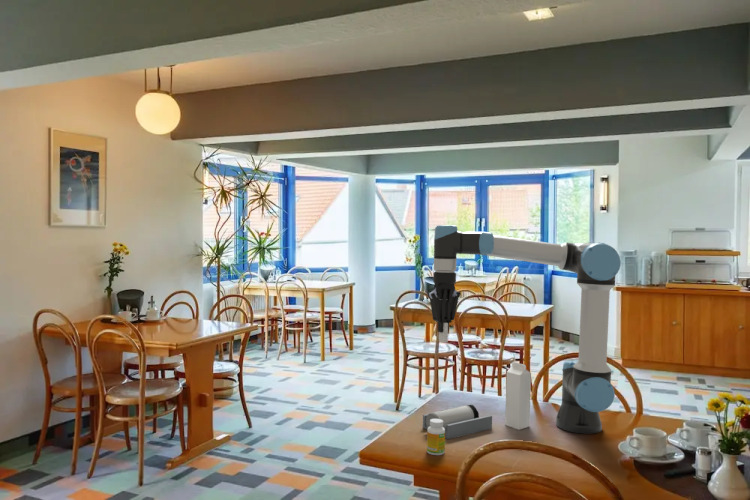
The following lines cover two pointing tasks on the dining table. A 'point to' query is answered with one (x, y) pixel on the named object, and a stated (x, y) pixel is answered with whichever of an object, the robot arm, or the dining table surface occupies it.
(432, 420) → the supplement bottle
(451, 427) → the cradle
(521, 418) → the milk
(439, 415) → the travel mug
